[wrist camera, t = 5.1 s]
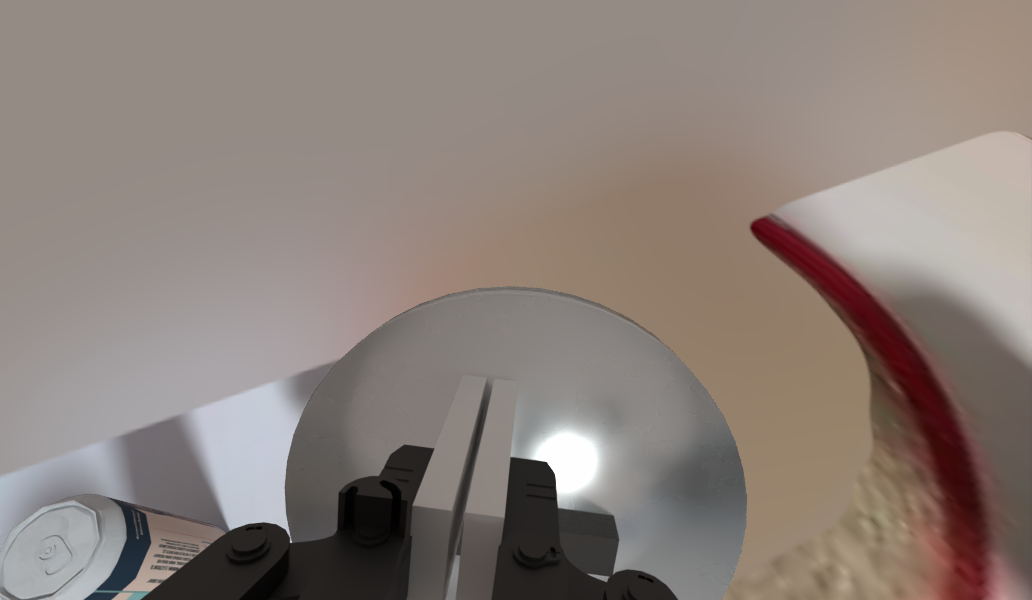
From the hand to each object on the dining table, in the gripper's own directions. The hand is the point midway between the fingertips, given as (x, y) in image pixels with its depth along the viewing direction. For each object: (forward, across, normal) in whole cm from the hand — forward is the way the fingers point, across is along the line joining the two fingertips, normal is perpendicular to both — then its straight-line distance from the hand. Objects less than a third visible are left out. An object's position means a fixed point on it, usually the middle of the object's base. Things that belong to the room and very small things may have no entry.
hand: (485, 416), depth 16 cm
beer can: (+11, -18, -18) cm, 28 cm away
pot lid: (+1, +1, -4) cm, 5 cm away
